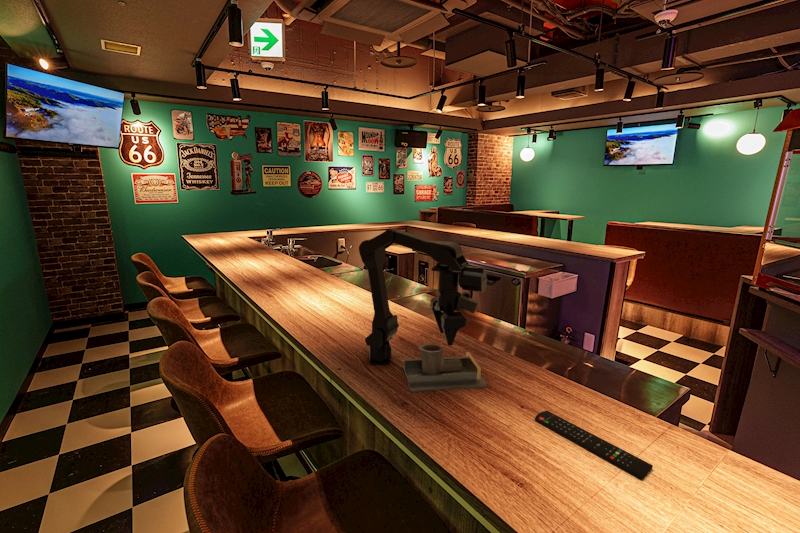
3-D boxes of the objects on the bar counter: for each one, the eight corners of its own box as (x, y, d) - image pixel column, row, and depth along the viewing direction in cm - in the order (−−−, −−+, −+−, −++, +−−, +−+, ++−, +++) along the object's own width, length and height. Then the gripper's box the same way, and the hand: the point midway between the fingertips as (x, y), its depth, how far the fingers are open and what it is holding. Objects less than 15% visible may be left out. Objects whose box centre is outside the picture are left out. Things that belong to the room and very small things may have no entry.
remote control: (640, 482, 73) (641, 476, 72) (532, 421, 91) (532, 416, 91) (651, 471, 76) (652, 465, 75) (544, 414, 94) (545, 409, 94)
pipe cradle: (410, 391, 103) (410, 374, 102) (403, 367, 117) (403, 352, 116) (486, 387, 106) (487, 370, 105) (471, 364, 119) (472, 349, 118)
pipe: (462, 377, 109) (463, 352, 107) (418, 377, 109) (419, 351, 107) (458, 367, 115) (460, 343, 113) (417, 367, 115) (418, 343, 113)
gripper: (487, 295, 98) (483, 351, 101) (465, 279, 116) (463, 326, 119) (445, 296, 96) (443, 353, 100) (430, 279, 114) (429, 327, 118)
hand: (446, 339), depth 109 cm, fingers open, 9 cm apart
